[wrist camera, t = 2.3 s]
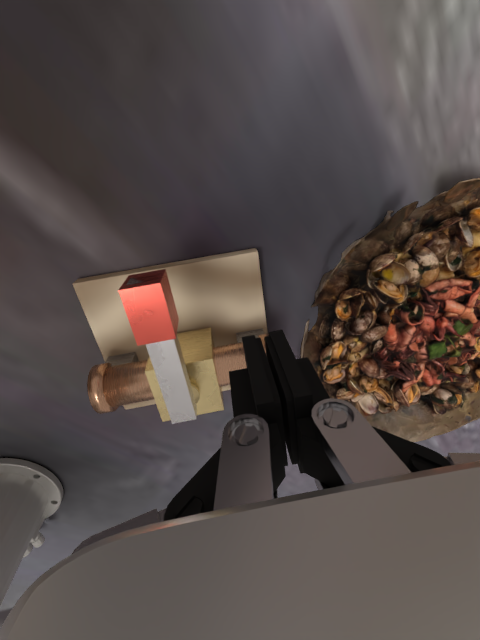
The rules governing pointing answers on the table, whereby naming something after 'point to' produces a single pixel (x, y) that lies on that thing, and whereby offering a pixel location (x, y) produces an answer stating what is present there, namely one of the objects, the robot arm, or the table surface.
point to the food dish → (406, 319)
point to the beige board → (181, 302)
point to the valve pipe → (141, 382)
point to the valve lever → (160, 338)
